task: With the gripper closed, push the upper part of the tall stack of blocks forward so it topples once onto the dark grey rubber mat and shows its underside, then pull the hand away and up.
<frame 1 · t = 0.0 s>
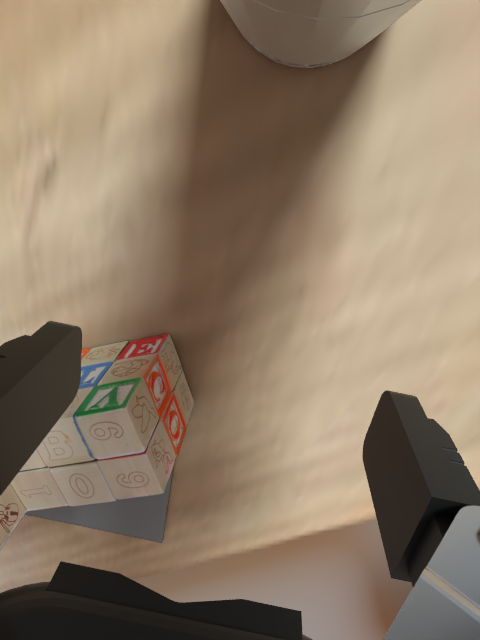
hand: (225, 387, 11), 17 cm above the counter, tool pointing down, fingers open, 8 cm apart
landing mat: (57, 476, 38), on the counter
stack of blocks: (56, 389, 34), on the counter, touching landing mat
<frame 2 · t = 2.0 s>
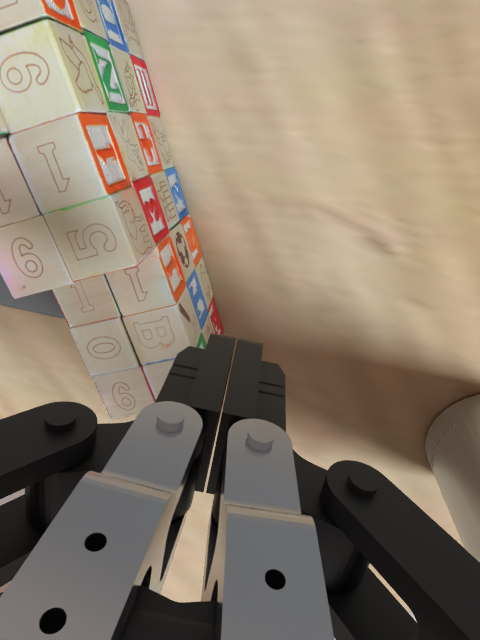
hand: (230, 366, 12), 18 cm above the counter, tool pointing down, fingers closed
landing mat: (5, 172, 29), on the counter
stack of blocks: (141, 200, 29), on the counter, touching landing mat
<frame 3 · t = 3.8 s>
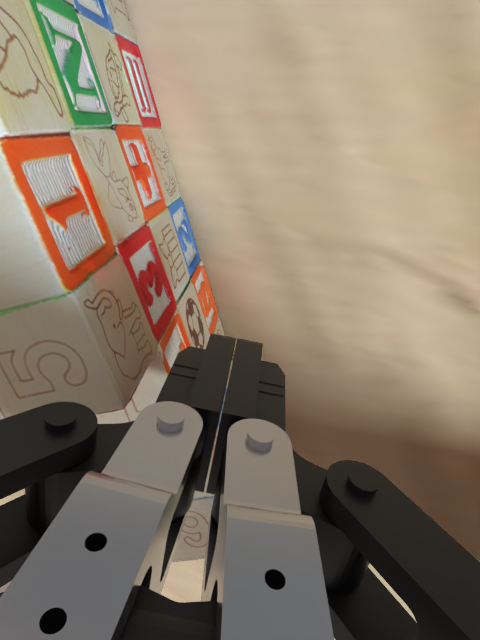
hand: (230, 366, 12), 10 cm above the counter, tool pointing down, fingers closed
stack of blocks: (135, 241, 21), on the counter, touching gripper, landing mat
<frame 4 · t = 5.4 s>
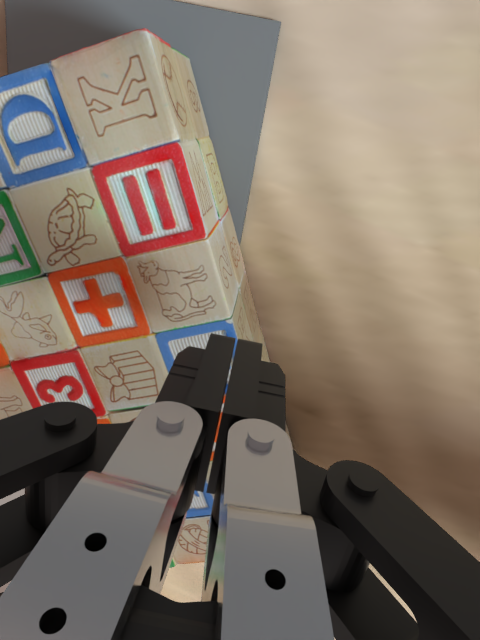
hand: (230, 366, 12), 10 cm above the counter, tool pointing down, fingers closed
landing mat: (126, 241, 21), on the counter
stack of blocks: (254, 320, 19), point 3 cm above the counter, touching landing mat
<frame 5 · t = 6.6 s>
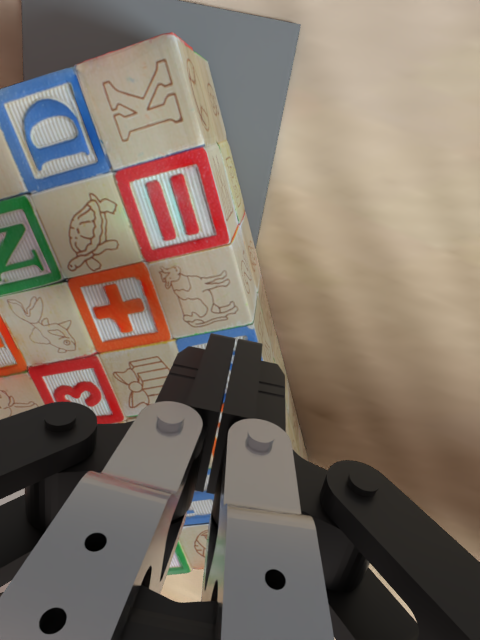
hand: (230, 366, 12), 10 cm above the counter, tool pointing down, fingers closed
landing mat: (140, 245, 21), on the counter
stack of blocks: (272, 324, 18), point 3 cm above the counter, touching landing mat
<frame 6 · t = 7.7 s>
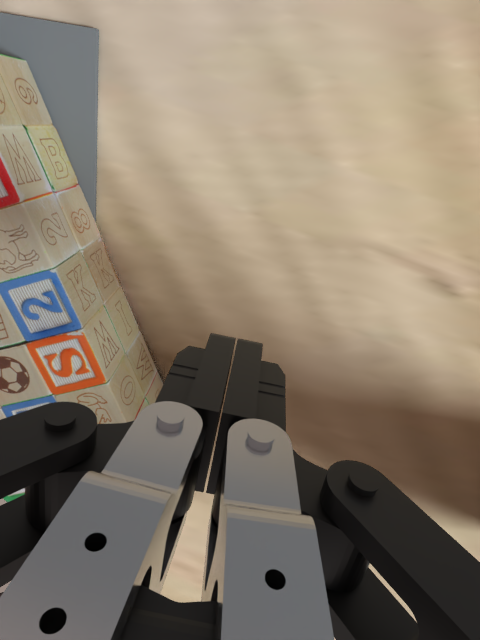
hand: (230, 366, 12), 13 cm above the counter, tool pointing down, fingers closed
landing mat: (0, 218, 25), on the counter
stack of blocks: (97, 276, 22), point 3 cm above the counter, touching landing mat
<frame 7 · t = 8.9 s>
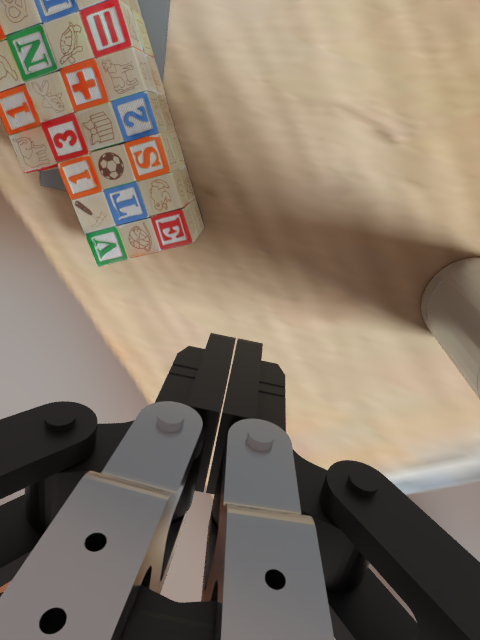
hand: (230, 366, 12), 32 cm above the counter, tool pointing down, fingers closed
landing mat: (101, 82, 39), on the counter
stack of blocks: (165, 111, 36), point 3 cm above the counter, touching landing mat
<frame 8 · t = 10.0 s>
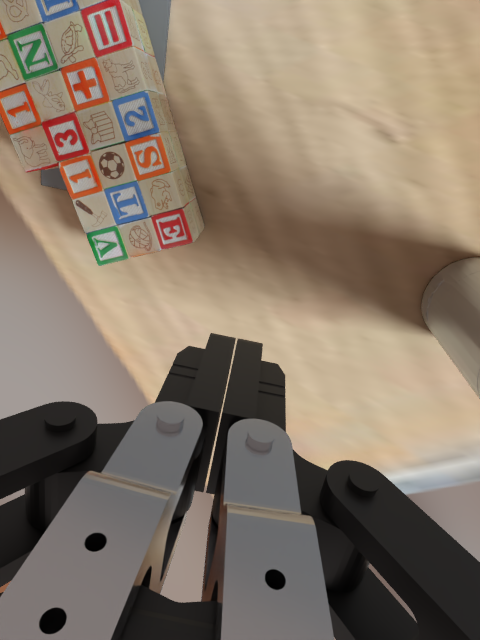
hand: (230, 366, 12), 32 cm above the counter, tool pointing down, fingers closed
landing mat: (101, 82, 39), on the counter
stack of blocks: (166, 111, 36), point 3 cm above the counter, touching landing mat
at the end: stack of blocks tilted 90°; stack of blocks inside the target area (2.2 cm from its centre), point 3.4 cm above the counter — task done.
